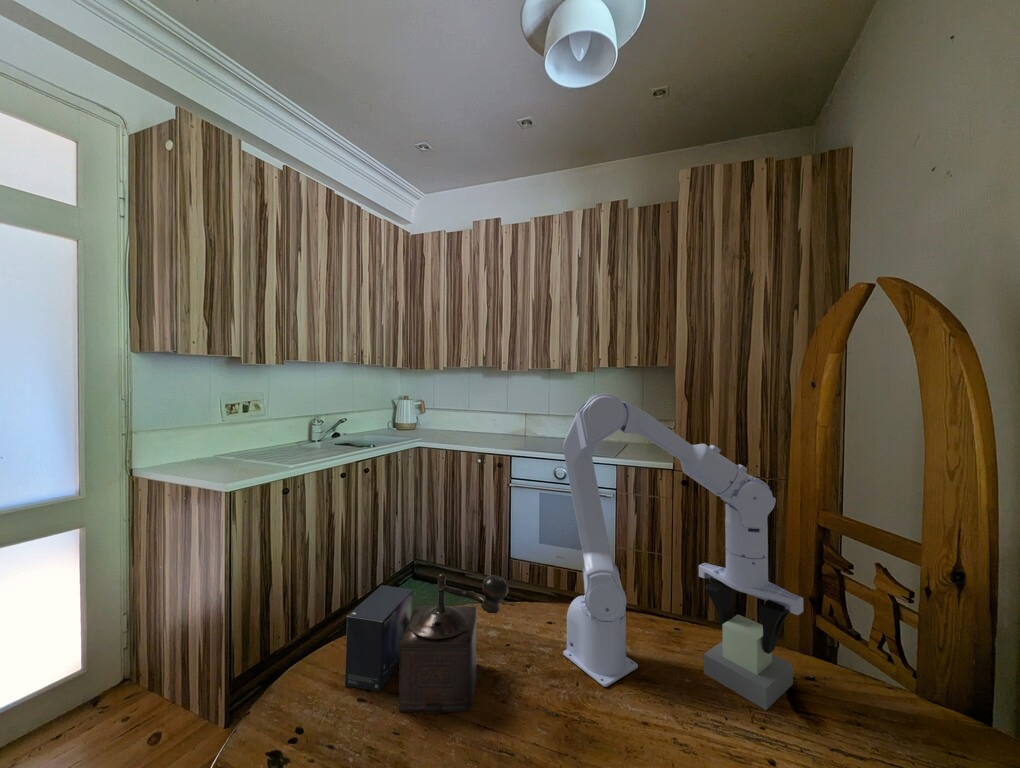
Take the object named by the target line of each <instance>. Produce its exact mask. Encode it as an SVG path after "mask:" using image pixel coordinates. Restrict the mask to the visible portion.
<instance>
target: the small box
mask: <svg viewBox="0 0 1020 768" xmlns="http://www.w3.org/2000/svg"><path fill="white" fill-rule="evenodd" d="M412 614H413V589H412V588H405V587H397V586H390V585H384V584H382V585H380V586H379V587H377V589H375V590H374V591H373V592H372V593H370V595H368V596H367V597H366V599H364V600H363V601H362V602H361V603H360V604H359V605H357V607H355V608H354V609H353V610H352V611H351V612H350V613H348V614H347V615H346V637H345V639H346V641H345V668H344V670H345V672H344V686H346V687H353V688H359V689H363V690H369V691H374V692H381V691H382V690H383V688H384V687H385V685H386V684H387V683H388V682H389V680H390V678H392V676H393V675H394V674H395V672H396V671H397V670H398V668H399V656H400V650H399V645H400V640H401V638H402V636H403V633H404V631H405V629H406V627H407V625H408V623H409V621H410V618H411V616H412ZM395 670H396V671H395Z"/></svg>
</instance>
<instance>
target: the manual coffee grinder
mask: <svg viewBox="0 0 1020 768" xmlns="http://www.w3.org/2000/svg"><path fill="white" fill-rule="evenodd" d="M446 579H447V576H446V574H444V573H439V575H438V576H437V585H436V589H437V591H438V603H437V605H416V607H415V608H414V610H413V611H412V616H411V618H410V621H409V623H408V625H407V627H406V629H405V631H404V633H403V636H402V638H401V640H400V645H399V650H400V656H399V666H398V668H399V669H398V671H399V672H398V675H399V679H398V683H399V684H398V685H399V686H398V695H399V696H398V697H399V698H398V702H399V703H398V712H406V713H407V712H409V713H410V712H411V713H421V714H440V713H459V712H464V711H469V710H471V709H472V706H473V702H474V699H475V691H476V683H477V675H478V670H477V669H478V668H477V666H478V665H477V639H476V638H477V606H461V605H460V606H458V605H457V606H456V605H455V606H453V605H452V606H451V605H445V595H446V594H445V592H446V593H447V594H450V595H454V596H458V597H463V598H468V599H470V600H471V599H472V600H474V601H477V602H479V603H480V606H481V609H482V610H483V611H484V612H486V613H487V614H498V612H500V611H501V606H500V602H501V601H502V600H503V599H504V598H505V597H507V595H508V593H509V586H508V582H507V580H505V579H504V578H503V577H502V576H499V575H497V574H491V575H488V576H486V577H485V579H484V580H483V581H482V586H481V587H482V588H481V590H482V592H483V594H484V595H482V594H479V593H476V592H472V591H470V590H464V589H461V588H456V587H452V586H449V585H447V583H446Z"/></svg>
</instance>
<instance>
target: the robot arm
mask: <svg viewBox="0 0 1020 768" xmlns="http://www.w3.org/2000/svg"><path fill="white" fill-rule="evenodd" d="M618 431H621V432H622V433H624V434H637V435H641V437H643V438H645V439H647V440H648V441H650V442H651V443H653V444H655V445H656V446H657V447H659V448H660V449H662V450H664V451H665V452H667V453H668V454H669V455H671V456H672V457H674V458H676V459H678V460H679V463H680V467H681V470H682V473H683V474H684V475H686V476H688V477H689V478H690V479H692V480H693V481H695V482H696V483H697V484H699V485H701V486H702V487H704V488H705V489H707V490H708V491H710V492H711V493H713V494H714V495H715V496H717V497H720V499H721V501H723V502H724V503H725V519H724V522H725V523H724V524H725V529H724V530H725V532H724V533H725V567H722V566H718V565H714V564H710V563H707V562H703V563H701V564H699V565H698V577H699V578H702V579H708V580H709V581H708V583H707V584H706V585H705V591H706V593H707V595H708V597H709V598H710V600H711V601H712V605H713V606H714V609H715V611H716V615H717V617H718V622H719V625H720V629H721V632H722V633H723V631H722V624H724V623H725V622H727V621H728V620H730V619H732V618H733V617H734V616H733V612H734V611H733V604H734V595H735V590H736V591H737V592H741V593H744V594H748V595H750V596H752V597H755V598H757V599H761V600H763V601H765V602H766V603H763V604H762V605H761V606H758V607H759V608H758V610H759V615H760V621H761V625H762V626H763V650H764V652H765V653H767V654H770V653H771V652H772V653H773V651H775V650H776V645H777V644H776V643H777V640H778V636H779V633H780V630H781V628H782V626H783V624H784V622H785V620H786V619H787V617H788V615H789V614H790V613H791V614H793V615H795V616H799V615H801V614H802V613H804V598H803V597H802V596H800V595H797V594H794V593H792V592H790V591H788V590H786V589H785V588H782V587H780V586H778V585H776V584H775V583H772V582H770V581H769V544H768V542H769V540H768V538H769V536H768V531H769V529H768V527H769V526H768V517H769V514H771V512H772V511H773V509H774V508H775V505H776V499H777V498H776V497H774V496H773V492H772V490H771V489H770V486H769V485H768V484H767V483H766V482H764V480H761V479H759V478H757V477H755V476H752V475H750V474H749V473H747V472H748V471H747V470H748V468H747V467H746V466H744V465H742V464H740V463H738V464H736V463H734V462H733V461H732V460H730V459H728V458H726V457H725V456H723V455H722V454H720V452H721V451H722V450H721V448H719V447H717V446H716V445H714V444H710V445H709V446H708V445H707V444H705V443H698V444H691V443H690V442H688V441H687V440H685V439H684V438H682V436H680V435H679V434H677V433H676V432H674V431H673V430H672V429H670V428H669V427H668V426H666V425H665V424H663V423H661V422H660V420H658V419H656V418H655V417H653V416H652V415H650V414H649V413H648V412H646V411H645V410H643V409H641V408H640V407H637V406H635V405H633V404H631V403H629V402H627V401H622V400H621V398H619V397H617V396H616V395H614V394H611V393H597V394H593V395H591V396H589V398H587V399H586V400H585V401H584V403H582V405H581V406H580V407H579V408H578V409H577V411H576V414H575V416H574V418H573V421H572V422H571V425H570V428H569V429H568V432H567V434H566V436H565V438H564V441H563V443H562V444H563V445H562V447H563V450H562V451H563V455H564V460H565V466H566V472H567V478H568V481H569V482H568V483H569V486H570V493H571V498H572V503H573V508H574V515H575V518H576V523H577V524H576V525H577V529H578V535H579V541H580V545H581V550H582V555H583V556H582V558H583V565H584V566H583V569H582V580H583V586H584V587H583V588H584V595H578V596H577V597H575V598H574V599H573V600H572V601H571V603H570V604H569V606H568V609H567V613H566V649H564V650H563V651H562V655H563V656H564V657H566V658H567V659H568V660H569V661H570V662H572V663H573V664H574V665H576V666H577V667H578V668H579V669H580V670H582V671H584V673H586V674H587V675H588V676H589V677H591V678H592V679H593V680H595V681H596V682H597V683H598V684H600V685H601V686H602V687H604V688H605V687H606V688H607V687H609V686H610V685H612V684H613V683H615V682H617V681H618V680H621V678H623V677H625V676H627V675H628V674H630V673H632V672H633V671H636V670H637V669H638V667H639V664H638V663H637V662H635V661H634V660H632V659H631V658H629V657H627V651H626V650H627V642H626V641H627V640H626V639H627V635H626V634H627V629H626V627H627V625H626V624H627V623H626V622H627V620H626V618H627V613H626V611H627V609H626V607H627V595H626V592H625V590H624V588H623V585H622V582H621V579H620V577H621V575H620V572H619V571H620V570H619V569H618V566H617V565H616V563H615V562H614V561H613V558H612V553H611V550H610V549H611V548H610V544H609V537H608V532H607V528H606V527H607V526H606V523H605V517H604V511H603V507H602V503H601V502H602V500H601V496H600V491H599V487H598V481H597V477H596V472H595V471H596V470H595V465H594V461H593V454H594V453H595V451H596V450H597V448H598V447H599V446H600V445H601V443H602V442H603V441H604V440H605V439H607V438H609V437H610V436H612V435H614V433H617V432H618Z"/></svg>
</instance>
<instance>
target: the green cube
mask: <svg viewBox="0 0 1020 768" xmlns="http://www.w3.org/2000/svg"><path fill="white" fill-rule="evenodd" d="M722 631H723V632H722ZM721 632H722V641H723V657H724V658H726V659H728V660H730V661H732V662H734V663H735V664H737V665H739V666H741V667H743V668H745V669H747V670H748V671H750V672H752V673H754V674H756V675H758V674H759V673H760V672H761V671H763V670H764V669H765V668H766V667H767V666H768V665H769V664H771V663H772V654H773V651H772V652H771V653H770V654H767V653H765V652H764V650H763V626H762V623H758V622H756V621H755V620H753V619H750V618H747V617H745V616H743V615H740V614H736V615H735V616H733V618H732V619H730V620H728V621H727V622H725V623H724V624H722V630H721Z"/></svg>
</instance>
